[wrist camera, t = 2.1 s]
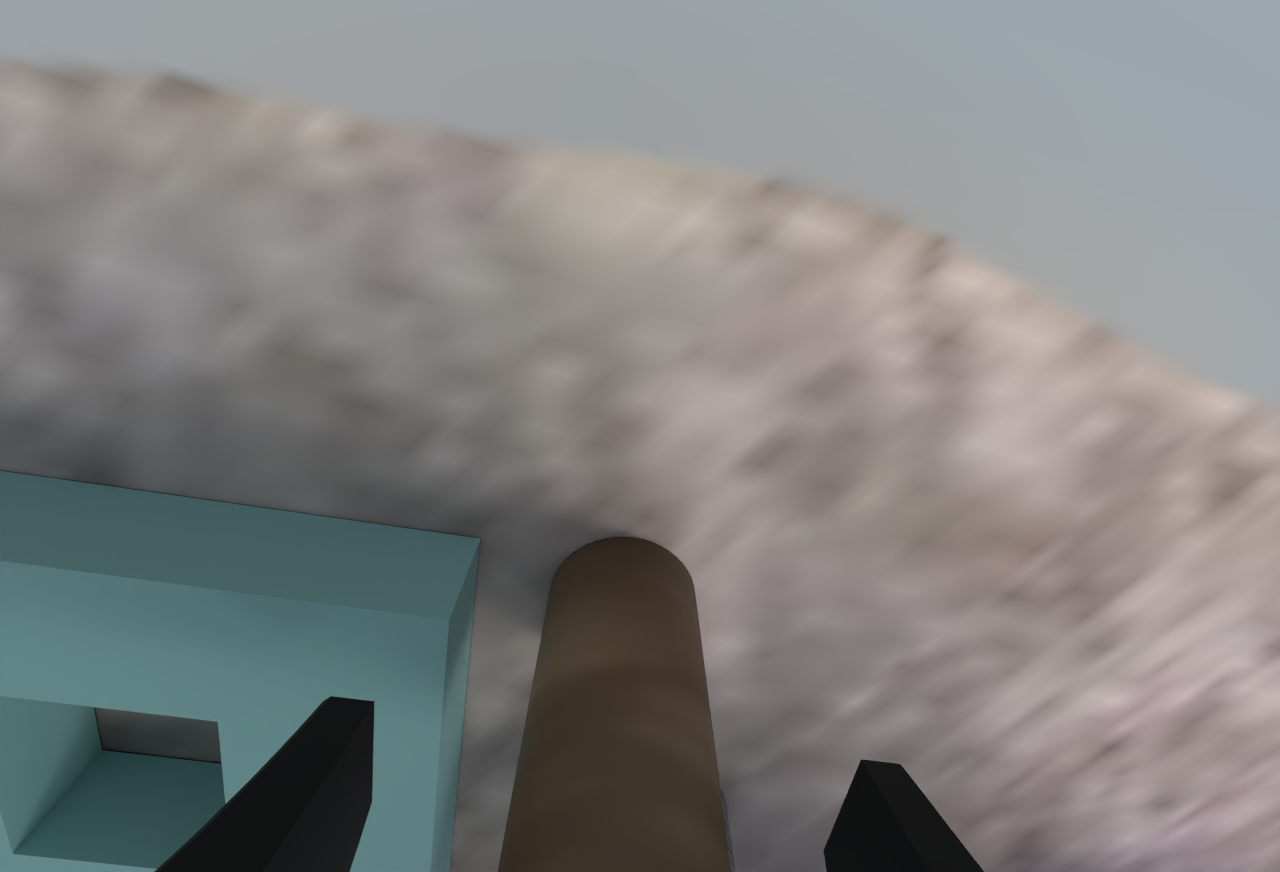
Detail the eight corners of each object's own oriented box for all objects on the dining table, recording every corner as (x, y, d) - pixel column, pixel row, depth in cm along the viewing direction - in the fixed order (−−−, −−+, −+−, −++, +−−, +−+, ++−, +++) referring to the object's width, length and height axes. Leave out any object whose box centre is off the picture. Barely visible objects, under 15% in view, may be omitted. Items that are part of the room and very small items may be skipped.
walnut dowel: (709, 548, 14) (771, 907, 7) (680, 664, 15) (712, 1060, 9) (558, 527, 14) (492, 877, 7) (542, 646, 15) (470, 1039, 8)
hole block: (480, 538, 14) (448, 620, 11) (449, 870, 18) (422, 980, 15) (-171, 446, 13) (-346, 515, 11) (-51, 818, 17) (-158, 926, 15)
